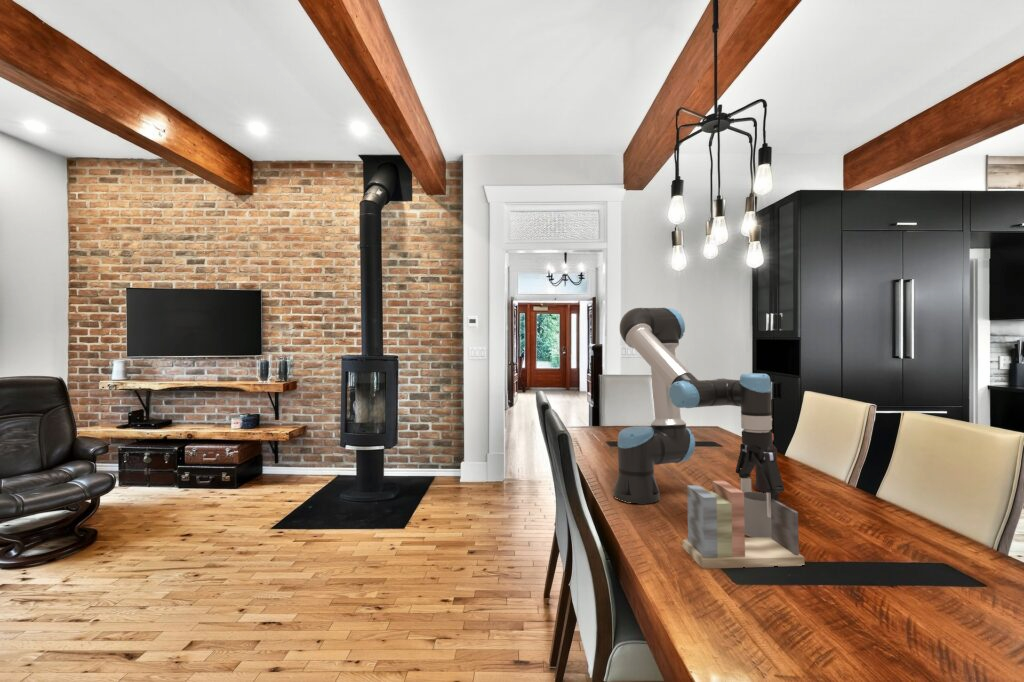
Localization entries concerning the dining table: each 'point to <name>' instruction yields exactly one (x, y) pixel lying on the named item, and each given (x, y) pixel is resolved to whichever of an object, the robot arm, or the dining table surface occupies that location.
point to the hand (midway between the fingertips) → (759, 508)
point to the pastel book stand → (737, 531)
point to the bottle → (760, 480)
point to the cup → (756, 515)
